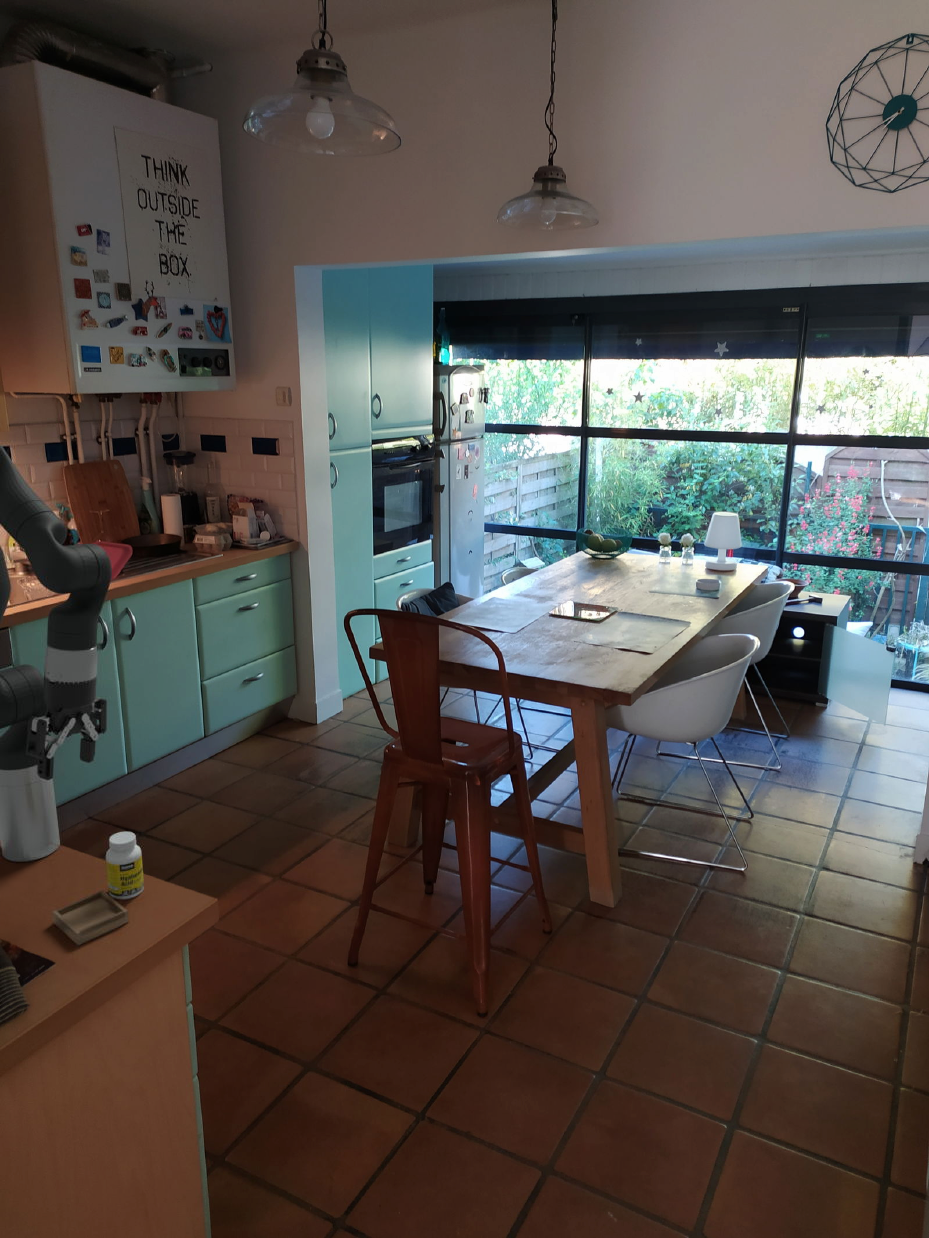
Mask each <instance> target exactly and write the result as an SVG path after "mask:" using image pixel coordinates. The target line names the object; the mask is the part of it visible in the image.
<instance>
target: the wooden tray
mask: <svg viewBox="0 0 929 1238" xmlns="http://www.w3.org/2000/svg"><path fill="white" fill-rule="evenodd" d="M52 919H53V924H54V925H56V926H57V928H58V929H60V930H61V931H62V932H63V933H64V934H65V935H66V936H67V937H69V939H70V940H72V941H73V942H74V943H75V945H77V946H81V945H82V944H84V943H87V942H88V941H91V940H93V939H96V938H98V937H100V936H102V935H104V934H107V933H108V932H111V931H113V930H115V929H117V928H119V927H121V926H123V924H124V925H126V924H128V923H129V922H130V920H129V911H128V909H126V908H125V907H123V906H122V905H121V904H120V903H119V902H118V901H116V899H115V898H113V897H112V896H111V895H110V894H108V893H106V892H105V891H104V890H99V891H96V892H94V893H93V894H90V895H88V896H85V897H83V898H81V899H79V900H76V901H74V902H72V903H69V904H67V905H65V906H63V907H60V908H58V909H55V910H53V911H52ZM127 922H128V923H127ZM125 923H126V924H125Z"/></svg>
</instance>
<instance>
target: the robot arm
mask: <svg viewBox="0 0 929 1238" xmlns="http://www.w3.org/2000/svg"><path fill="white" fill-rule="evenodd" d="M0 526H1V527H2V528H3V529H4V531H6V533H7V534H8V535H9V536H10V537H12V539H13V541H15V542H16V543H17V544H18V546H20V547H21V548H22V549H23V552H24V554H25V556H26V558H27V560H28V562H29V564H30V566H31V568H32V570H33V573H34V575H35V577H36V578H37V580H38V582H39V583H40V584H41V585H42V586H43V587H44V588H46V589H47V590H49V591H51V592H52V593H54V594H57V595H58V594H61V595H64V594H69V595H68V597H67V599H66V600H65V601H64V602H62V603H60V604H57V605H56V606H55V607H52V608H51V610H50V611H49V613H48V615H47V616H48V617H47V631H46V633H47V635H46V649H45V654H44V664H43V666H44V667H43V671H44V672H43V675H42V673H41V672H40V671H39V670H38V669H37V668H36V666H33V665H31V664H19V665H16V666H12V667H9V668H4V669H1V670H0V730H1V729H4V728H5V729H6V728H7V727H9V728H8V729H6V731H5V732H4V733H3V734H2V735H1V736H0V847H1V854H2V856H3V858H5V859H6V860H8V861H11V862H30V861H35V860H38V859H42V858H44V857H47V856H49V855H51V854H52V853H54V852H56V850H57V849H59V847H60V845H61V839H60V831H59V822H58V814H57V813H58V812H57V805H56V799H55V798H56V797H55V788H54V780H53V779H54V763H55V757H54V754H55V753H56V751H57V749H58V748H59V746H61V745H63V744H64V741H65V740H66V739H67V738H69V737H71V736H72V735H77V734H80V736H81V737H82V738H80V744H79V745H80V746H79V747H80V748H79V759H80V761H82V762H85V763H88V764H89V763H92V762H94V758H95V755H96V742H97V740H98V738H99V735H101V734H105V733H106V732H107V724H108V723H107V722H108V721H107V716H108V715H107V714H108V713H107V705H108V703H107V702H108V701H107V699H105V698H102V697H98V696H97V683H98V682H97V681H98V679H97V677H98V659H99V658H98V650H97V649H98V648H97V647H98V645H97V644H98V643H97V642H98V626H99V624H98V623H99V617H100V615H101V612H102V610H103V606H104V603H105V600H106V598H107V594H108V592H109V587H110V585H111V581H112V573H113V572H112V570H113V568H112V567H113V566H112V562H111V558H110V556H109V554H108V553H107V551H106V550H105V549H104V548H103V547H101V546H100V545H98V544H96V543H95V544H94V543H84V544H73V545H71V544H70V545H64V543H65V541H66V539H67V536H68V529H67V527H66V525H65V524H64V522H63V521H62V519H60V517H59V516H58V515H57V514H56V513H55V512H54V511H53V510H52V509H51V508H50V507H49V506H48V505H47V503H45V502H44V501H43V500H42V499H41V498H40V497H39V496H38V495H37V493H36V492H35V491H34V490H33V489H32V488H31V486H30V485H29V484H28V483H27V481H26V480H25V479H24V477H23V476H22V474H21V473H20V471H19V469H18V468H17V467H16V465H15V463H14V462H13V461H12V459H11V457H10V456H9V455H8V452H6V450H5V448H4V447H3V446H2V444H1V443H0ZM11 592H12V586H11V580H10V575H9V571H8V566H7V562H6V557H5V554H4V550H3V548H2V546H1V545H0V625H1V623H2V622H3V621H2V620H3V618H4V615H5V613H6V610H7V607H8V604H9V602H10V601H9V600H10V597H11ZM51 733H53V735H55V737H54V736H52V734H51ZM52 843H53V844H52ZM55 844H56V845H55ZM57 845H58V846H57Z"/></svg>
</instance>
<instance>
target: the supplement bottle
mask: <svg viewBox="0 0 929 1238" xmlns="http://www.w3.org/2000/svg"><path fill="white" fill-rule="evenodd" d="M108 841H109V843H108V845H109V846H108V847H109V849H108V850H107V851H106V854H105V863H106V864H105V865H106V875H107V885H108V893H109V894H108V895H109V896H110V897H111V898H113V899H115V900H129V899H132V898H135V897H137V896H139V895H140V894H141V893H142V892H143V891H144V889H145V888H144V887H145V881H144V870H143V869H144V868H143V856H142V849H141V847H140V846H139V845H137V837H136V834H135V833H133V832H132V831H119V832H117V833H113V834H112V835H111V836H110V837H109V840H108Z"/></svg>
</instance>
